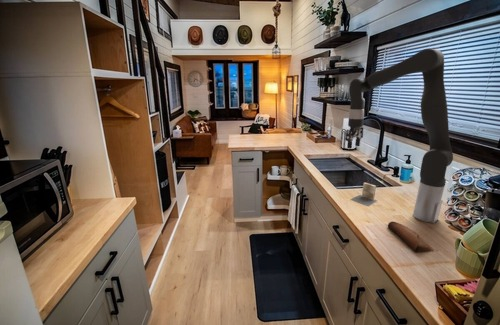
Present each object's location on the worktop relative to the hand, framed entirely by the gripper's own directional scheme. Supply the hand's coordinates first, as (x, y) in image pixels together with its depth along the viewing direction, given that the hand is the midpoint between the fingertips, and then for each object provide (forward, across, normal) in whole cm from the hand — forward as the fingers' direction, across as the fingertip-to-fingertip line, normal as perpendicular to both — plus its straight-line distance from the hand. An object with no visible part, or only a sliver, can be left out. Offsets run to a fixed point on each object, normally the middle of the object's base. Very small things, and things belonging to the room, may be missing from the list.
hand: (353, 147), depth 142 cm
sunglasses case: (+28, -25, -41) cm, 56 cm away
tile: (+26, -2, -12) cm, 29 cm away
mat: (+27, -6, -12) cm, 30 cm away
